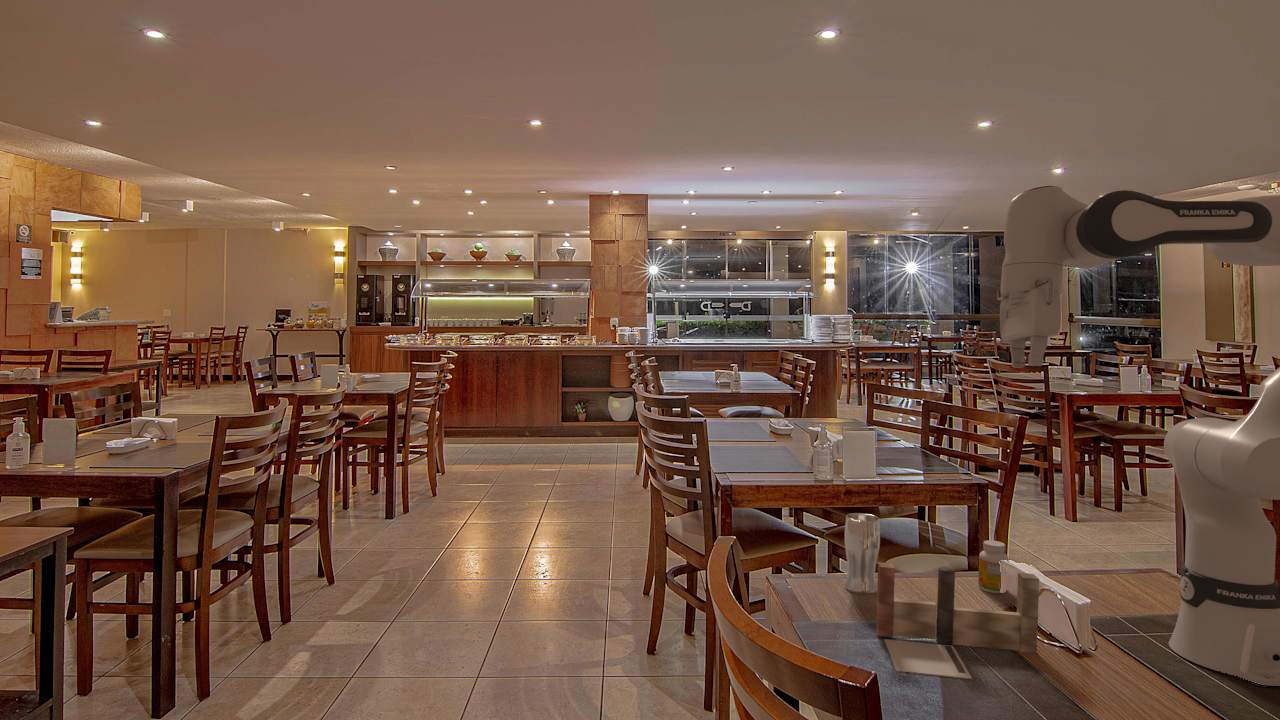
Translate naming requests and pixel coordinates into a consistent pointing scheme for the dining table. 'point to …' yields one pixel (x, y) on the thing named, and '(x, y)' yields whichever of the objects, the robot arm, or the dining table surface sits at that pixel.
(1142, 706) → the dining table surface
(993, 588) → the supplement bottle
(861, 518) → the beer glass
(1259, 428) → the robot arm
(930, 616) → the fence gate
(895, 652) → the card
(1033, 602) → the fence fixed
